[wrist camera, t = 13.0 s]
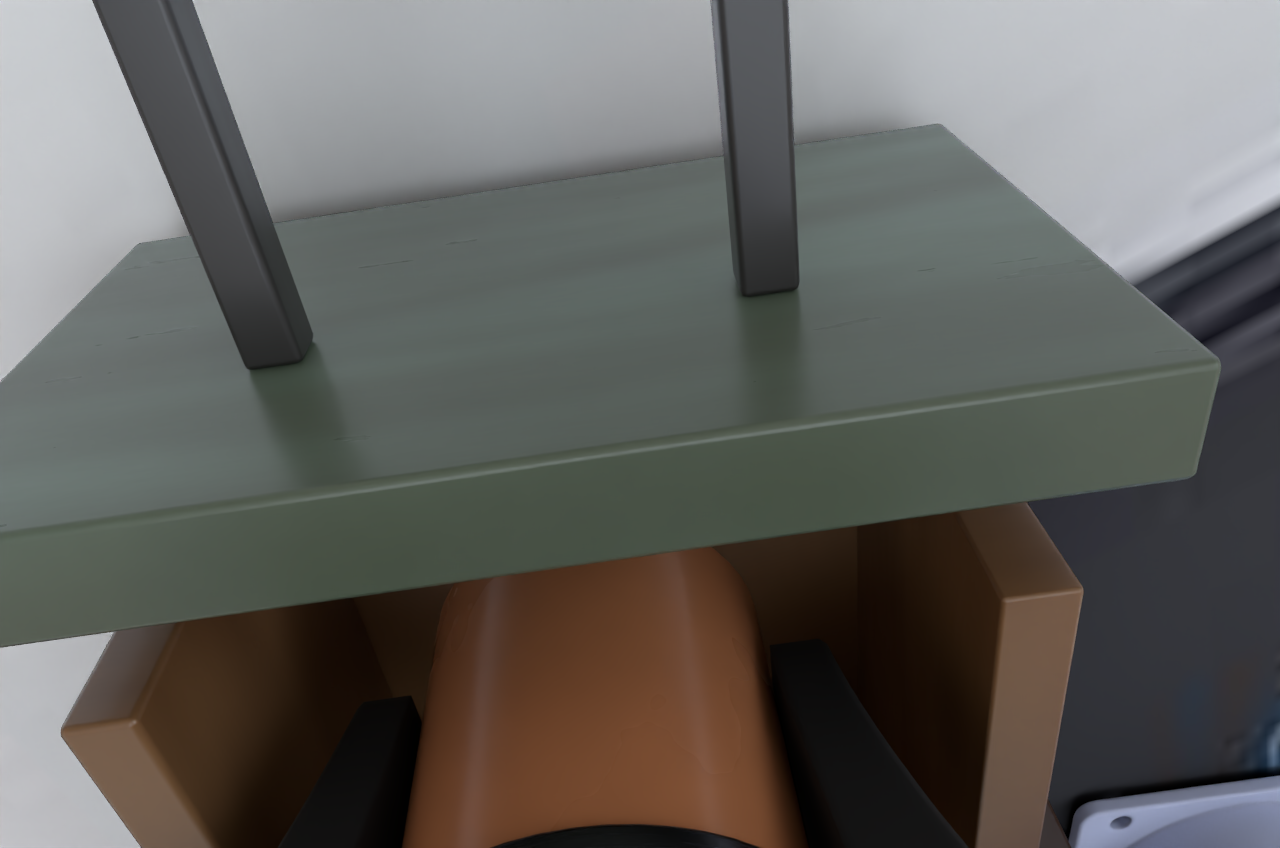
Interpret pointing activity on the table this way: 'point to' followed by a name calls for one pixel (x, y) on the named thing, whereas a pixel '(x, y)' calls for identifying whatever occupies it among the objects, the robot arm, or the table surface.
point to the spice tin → (603, 714)
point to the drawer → (572, 436)
